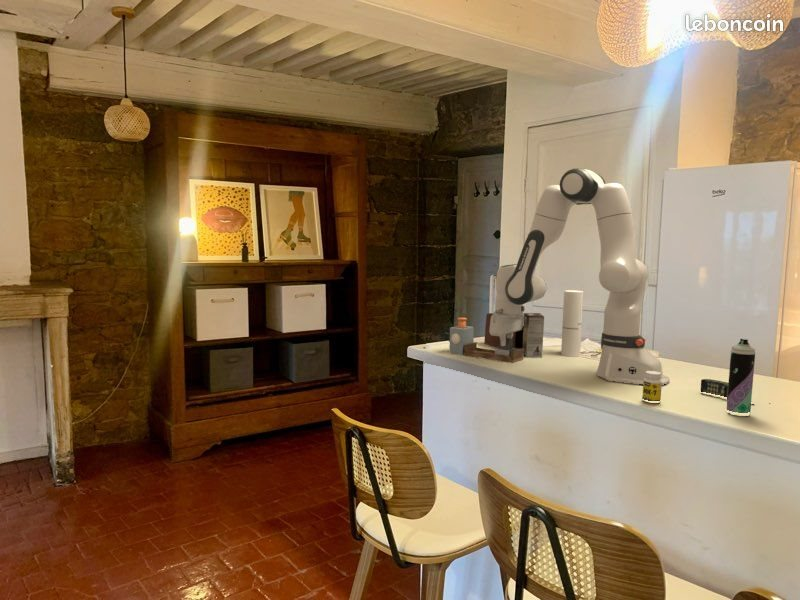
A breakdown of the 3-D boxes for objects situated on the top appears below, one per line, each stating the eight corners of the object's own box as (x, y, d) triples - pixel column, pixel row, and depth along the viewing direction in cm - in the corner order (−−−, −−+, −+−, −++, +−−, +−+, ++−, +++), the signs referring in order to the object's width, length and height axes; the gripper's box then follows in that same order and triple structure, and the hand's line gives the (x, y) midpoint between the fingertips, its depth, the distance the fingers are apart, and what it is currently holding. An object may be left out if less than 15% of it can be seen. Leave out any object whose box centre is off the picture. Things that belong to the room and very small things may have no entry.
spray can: (727, 415, 154) (733, 339, 152) (724, 409, 159) (730, 336, 157) (751, 418, 152) (758, 341, 150) (747, 412, 157) (754, 338, 155)
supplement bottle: (639, 401, 166) (641, 372, 165) (645, 398, 169) (646, 369, 168) (657, 405, 163) (659, 375, 162) (662, 401, 166) (664, 372, 165)
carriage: (516, 356, 221) (517, 337, 220) (509, 358, 216) (509, 340, 215) (502, 354, 224) (502, 336, 223) (494, 356, 220) (495, 338, 219)
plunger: (468, 334, 231) (468, 318, 231) (463, 335, 229) (463, 319, 228) (460, 333, 234) (460, 317, 233) (455, 334, 231) (455, 318, 230)
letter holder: (513, 352, 235) (514, 317, 233) (483, 344, 252) (484, 311, 251) (532, 350, 240) (534, 316, 238) (502, 342, 257) (503, 310, 255)
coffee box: (521, 352, 233) (523, 312, 232) (538, 353, 233) (539, 312, 231) (526, 357, 224) (527, 315, 222) (543, 357, 224) (545, 316, 222)
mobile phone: (699, 378, 175) (751, 388, 163) (705, 377, 177) (757, 387, 164) (698, 394, 176) (751, 406, 163) (704, 393, 177) (756, 404, 165)
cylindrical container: (584, 355, 230) (587, 291, 227) (571, 357, 226) (575, 292, 223) (569, 352, 236) (572, 290, 233) (557, 354, 232) (560, 290, 229)
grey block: (473, 352, 233) (473, 327, 232) (461, 355, 227) (462, 329, 226) (460, 350, 237) (460, 325, 236) (448, 353, 230) (449, 327, 229)
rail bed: (523, 359, 220) (523, 349, 220) (513, 363, 214) (513, 352, 213) (474, 352, 233) (474, 342, 232) (463, 355, 227) (463, 344, 226)
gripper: (501, 311, 208) (500, 350, 209) (527, 306, 224) (525, 342, 226) (485, 309, 212) (484, 347, 213) (512, 305, 228) (510, 340, 229)
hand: (506, 345), depth 220 cm, fingers closed on carriage, 2 cm apart
